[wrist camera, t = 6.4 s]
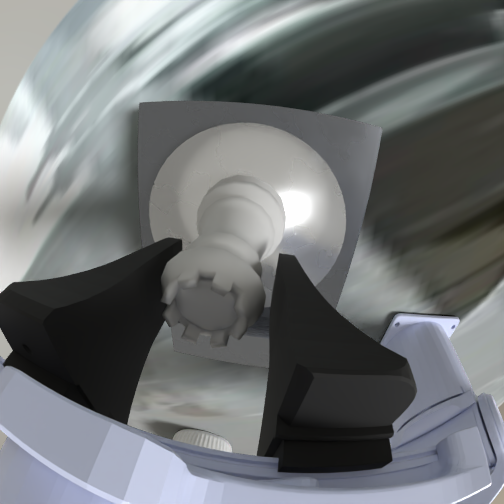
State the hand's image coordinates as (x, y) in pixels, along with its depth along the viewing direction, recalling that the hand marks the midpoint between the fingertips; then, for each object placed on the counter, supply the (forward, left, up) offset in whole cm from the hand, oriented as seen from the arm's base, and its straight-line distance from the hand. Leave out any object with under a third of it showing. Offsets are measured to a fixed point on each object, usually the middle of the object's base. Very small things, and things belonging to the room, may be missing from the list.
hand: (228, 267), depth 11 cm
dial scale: (-2, 0, -8) cm, 8 cm away
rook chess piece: (+1, 0, -4) cm, 4 cm away
